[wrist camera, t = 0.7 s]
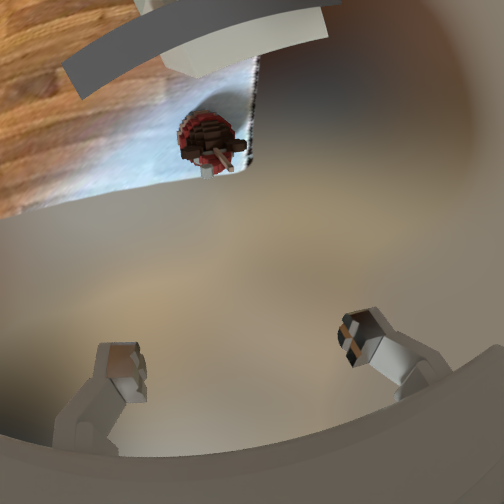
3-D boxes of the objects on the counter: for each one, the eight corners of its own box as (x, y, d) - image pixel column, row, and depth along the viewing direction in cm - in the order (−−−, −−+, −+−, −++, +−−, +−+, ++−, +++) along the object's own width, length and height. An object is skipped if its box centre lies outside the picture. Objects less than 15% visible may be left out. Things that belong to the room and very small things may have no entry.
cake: (227, 106, 47) (269, 133, 35) (228, 150, 53) (265, 192, 41) (171, 114, 44) (189, 143, 32) (175, 159, 50) (195, 206, 38)
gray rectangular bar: (90, 93, 17) (82, 100, 14) (72, 61, 14) (61, 63, 12) (315, 5, 18) (341, 4, 15) (306, -23, 15) (331, -29, 13)
